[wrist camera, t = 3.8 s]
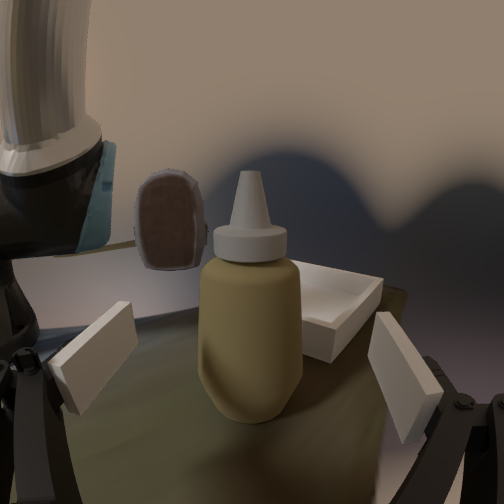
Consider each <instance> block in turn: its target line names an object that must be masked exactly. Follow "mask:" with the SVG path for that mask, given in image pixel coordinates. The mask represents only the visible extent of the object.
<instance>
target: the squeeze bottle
mask: <svg viewBox="0 0 504 504" xmlns="http://www.w3.org/2000/svg"><path fill="white" fill-rule="evenodd" d="M286 244H287V231H286V229H285V228H282V227H280V226H274V225H271V224H270V219H269V215H268V209H267V204H266V199H265V195H264V190H263V185H262V180H261V175H260V171H241V174H240V179H239V183H238V188H237V193H236V197H235V202H234V207H233V212H232V216H231V221H230V225H226V226H221V227H218V228H216V229H215V230H214V253H215V255H216V256H217V257H215V258H213V259H211V260H210V261H209V262H208V263H206V264H205V266H204V267H203V268H202V270H201V274H200V297H199V298H200V299H199V327H198V374H199V377H200V380H201V382H202V385H203V386H204V388H205V390H206V391H207V393H208V395H209V396H210V398H211V399H212V401H213V403H214V404H215V406H216V407H217V409H218V411H219V412H221V413H222V414H223V415H224V416H225V417H226V418H228V419H230V420H233V421H236V422H239V423H247V424H257V423H261V422H265V421H269V420H271V419H273V418H274V417H276V416H277V415H279V414H280V413H281V412H282V410H283V408H284V407H285V405H286V403H287V402H288V400H289V399H290V397H291V395H292V394H293V392H294V390H295V388H296V387H297V385H298V383H299V381H300V379H301V377H302V375H303V345H302V310H301V286H300V271H299V269H298V266H297V265H295V264H294V263H293V262H292V261H291V260H289V259H287V258H286V257H284V255H285V254H286Z"/></svg>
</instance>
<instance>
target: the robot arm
mask: <svg viewBox="0 0 504 504" xmlns="http://www.w3.org/2000/svg"><path fill="white" fill-rule="evenodd" d="M91 1H92V0H0V118H1V125H2V130H3V136H4V139H3V141H2V143H1V145H0V504H9V501H10V493H11V486H12V480H13V474H14V469H15V481H16V491H17V503H11V504H83V503H82V500H81V496H80V493H79V490H78V486H77V483H76V479H75V475H74V471H73V467H72V462H71V458H70V453H69V448H68V443H67V438H66V432H65V426H64V419H63V412H62V410H61V408H60V406H61V405H62V404H63V403H65V405H66V407H67V410H68V412H71V413H73V414H76V415H78V416H82V415H83V414H84V412H85V411H86V410H87V408H88V407H89V406H90V405H91V403H92V402H93V401H94V399H95V398H96V397H97V395H98V394H99V393H100V392H101V390H102V389H103V388H104V387H105V385H106V384H107V383H108V381H109V380H110V379H111V378H112V376H113V375H114V374H115V373H116V371H117V370H118V369H119V368H120V366H121V365H122V364H123V363H124V361H125V360H126V359H127V358H128V356H129V355H130V354H131V353H132V351H133V350H134V349H135V348H136V346H137V345H138V339H137V334H136V328H135V323H134V317H133V311H132V305H131V302H128V301H118V302H117V303H116V304H115V305H114V306H112V307H111V308H110V309H109V310H108V311H106V312H105V313H104V314H103V315H102V316H100V317H99V318H98V319H97V320H96V321H94V322H93V323H92V324H91V325H90V326H89V327H87V328H86V329H85V330H84V331H83V332H82V333H80V334H79V335H78V336H77V337H75V338H73V339H70V340H68V341H67V342H65V343H64V344H63V345H62V346H61V348H58V349H57V350H56V352H54V353H53V354H52V355H50V356H49V357H48V358H47V359H46V360H45V361H44V362H42V363H41V362H40V359H39V356H38V354H37V351H36V349H34V348H32V347H31V346H32V345H33V344H34V343H35V341H36V340H37V338H38V335H39V326H38V322H37V319H36V315H35V313H34V311H33V309H32V307H31V305H30V304H29V302H28V300H27V299H26V297H25V295H24V293H23V291H22V290H21V288H20V286H19V284H18V282H17V280H16V278H15V276H14V272H13V267H12V261H11V260H13V259H22V258H33V257H44V256H55V255H66V254H79V253H80V252H84V251H90V250H96V249H100V248H102V247H103V246H104V245H106V244H107V242H108V241H109V239H110V234H111V208H112V191H113V176H114V166H115V154H116V144H115V143H113V142H109V141H107V140H106V141H104V142H102V138H101V137H102V135H101V126H100V124H99V123H98V122H97V121H96V120H94V119H93V118H91V117H90V116H89V115H87V113H86V112H85V67H86V66H85V65H86V47H87V46H86V45H87V34H88V24H89V15H90V8H91ZM368 359H369V361H370V363H371V366H372V368H373V371H374V373H375V375H376V378H377V380H378V383H379V385H380V388H381V390H382V393H383V395H384V398H385V400H386V403H387V405H388V408H389V411H390V413H391V416H392V419H393V421H394V424H395V427H396V429H397V432H398V435H399V437H400V440H401V443H402V445H405V444H410V443H415V442H419V440H420V438H421V437H422V435H423V433H425V435H426V437H427V440H426V442H425V444H424V445H423V447H422V449H421V450H420V452H419V453H418V457H417V459H416V461H415V463H414V464H413V466H412V468H411V470H410V471H409V473H408V475H407V477H406V478H405V480H404V482H403V483H402V485H401V486H400V488H399V490H398V491H397V493H396V494H395V496H394V497H393V499H392V500H391V502H390V503H389V504H444V502H445V499H446V497H447V495H448V493H449V491H450V488H451V486H452V484H453V481H454V479H455V476H456V474H457V471H458V468H459V466H460V463H461V460H462V457H463V454H464V451H465V457H464V472H463V482H462V491H461V498H460V504H504V394H497V395H495V396H494V398H493V399H492V401H491V403H490V404H476V402H475V400H474V399H473V398H472V397H471V396H469V395H467V394H463V393H458V392H457V391H456V389H455V388H454V386H453V385H452V383H451V382H450V381H449V379H448V378H447V376H445V373H444V372H443V370H441V368H440V366H439V365H438V363H437V362H436V361H435V360H433V359H432V358H430V357H429V356H425V357H421V355H420V354H419V353H418V351H417V350H416V348H415V347H414V345H413V344H412V343H411V341H410V340H409V338H408V337H407V335H406V334H405V332H404V331H403V330H402V328H401V327H400V325H399V324H398V323H397V321H396V320H395V319H394V317H393V316H392V314H391V313H390V312H376V317H375V322H374V327H373V332H372V337H371V342H370V347H369V351H368ZM11 361H14V364H15V366H16V369H17V371H16V370H11V369H10V366H9V364H8V363H9V362H11ZM1 400H2V402H3V404H4V406H3V408H1Z"/></svg>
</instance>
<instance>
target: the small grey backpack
mask: <svg viewBox="0 0 504 504" xmlns="http://www.w3.org/2000/svg"><path fill="white" fill-rule="evenodd" d="M134 213H135V227H134V235H135V243H136V247H137V249H138V252H139V254H140V256H141V259H142V261H143V263H144V266H145V268H150V269H154V270H165V271H172V270H173V271H174V270H186V269H189V268H193V267H197V266H199V265H200V261H201V257H202V253H203V249H204V246H205V245H207V228H208V225H207V222H206V221H204V204H203V199H202V196H201V193H200V191H199V187H198V182H197V181H196V180H195V179H193V178H192V177H191V176H190V175H188V174H187V173H186V172H185V171H180V170H175V169H169V168H168V169H164V170H161V171H158V172H154V173H152V174H151V175H150V176H149V177H148V178H147V179H146V180H145V181H144V182H143V183H142V184H141V185H140V187H139V189H138V193H137V197H136V201H135V206H134ZM208 232H209V231H208Z"/></svg>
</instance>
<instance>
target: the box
mask: <svg viewBox="0 0 504 504" xmlns="http://www.w3.org/2000/svg"><path fill="white" fill-rule="evenodd" d="M291 261H292V262H293V263H294V264H295V265H297V266H298V269H299V271H300V286H301V310H302V345H303V354H305V355H307V356H310V357H313V358H316V359H319V360H321V361H324V362H327V363H330V364H331V363H332V362H333V361H334V360H335V358H336V357H337V356H338V355H339V354H340V353H341V351H342V350H343V349H344V348H345V347H346V346H347V344H348V343H349V342H350V341H351V340H352V338H353V337H354V336H355V335H356V334H357V332H358V331H359V330H360V329H361V327H362V326H363V325H364V324H365V322H366V321H367V320H368V319H369V317H370V316H371V315H372V313H373V312H374V311H375V309H376V308H377V307H378V306H379V304H380V300H381V294H382V288H383V280H384V279H383V278H378V277H373V276H368V275H363V274H358V273H353V272H349V271H344V270H338V269H334V268H329V267H324V266H319V265H314V264H308V263H304V262H299V261H294V260H291Z"/></svg>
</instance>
